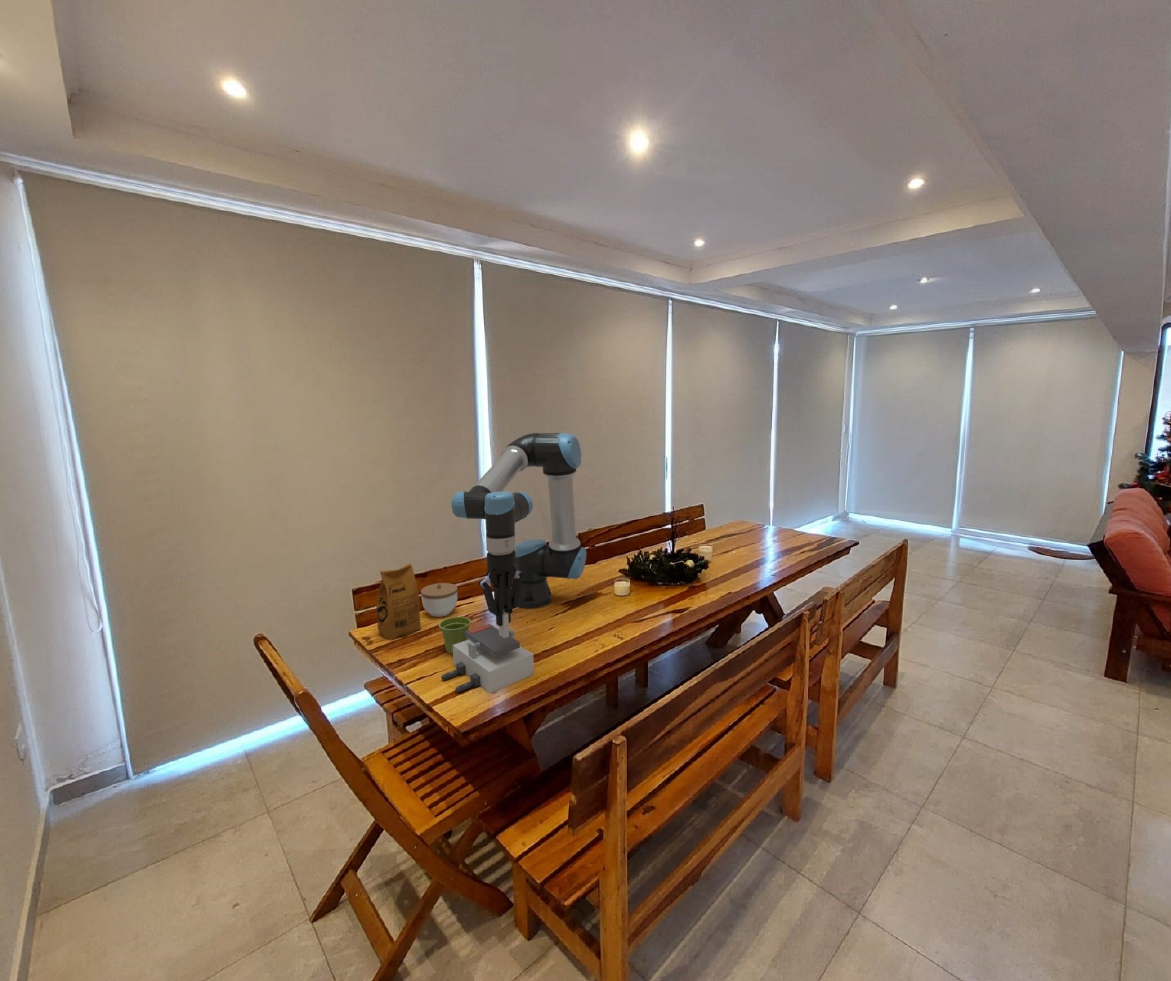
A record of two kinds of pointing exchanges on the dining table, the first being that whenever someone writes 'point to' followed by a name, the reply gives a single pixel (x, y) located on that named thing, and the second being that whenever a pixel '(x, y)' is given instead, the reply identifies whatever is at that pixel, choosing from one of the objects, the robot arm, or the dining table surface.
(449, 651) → the plant pot
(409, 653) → the dining table surface
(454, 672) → the switch box
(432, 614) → the lidded bowl
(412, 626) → the coffee package
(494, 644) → the rocker
